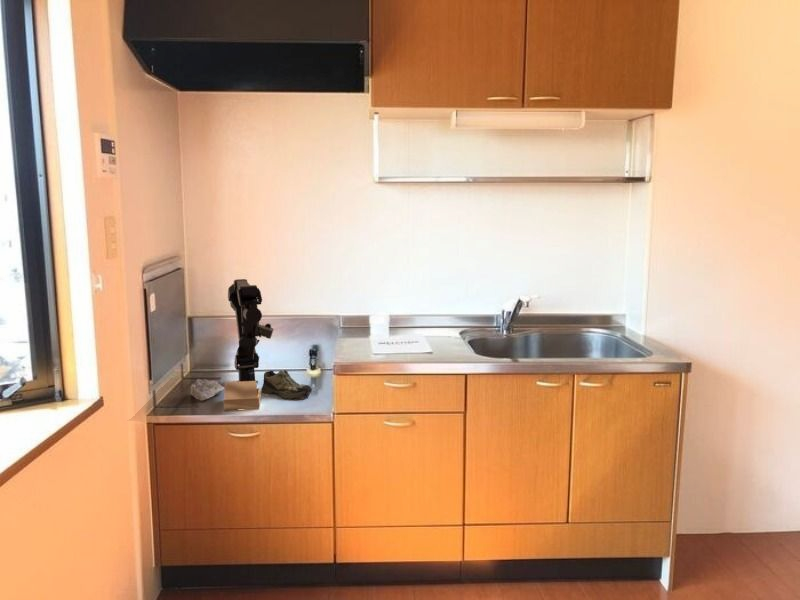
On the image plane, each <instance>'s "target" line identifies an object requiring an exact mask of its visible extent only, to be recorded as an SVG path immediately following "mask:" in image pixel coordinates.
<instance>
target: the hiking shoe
mask: <svg viewBox="0 0 800 600" xmlns="http://www.w3.org/2000/svg"><path fill="white" fill-rule="evenodd" d="M260 388H261V394H262V393H264V394H263V395H267V394H268V396H277V397H280V398H281V399H283V400H287V399H291V400H292V401H293V400H294V399H299V400H305V398H306V399H308V397H309V396H310V395H311V394H312V387H311V386H310V385H308V384H300V383H298V382H297V381H296V380H295V379H293V378H292V376H291V375H290V374H289V372H288V370H287V369H283V370H279V371H278V373H275V372H274V371H273V370H268V371H265V372H264V373H263V383H262V386H261V387H260ZM294 401H295V400H294Z"/></svg>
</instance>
